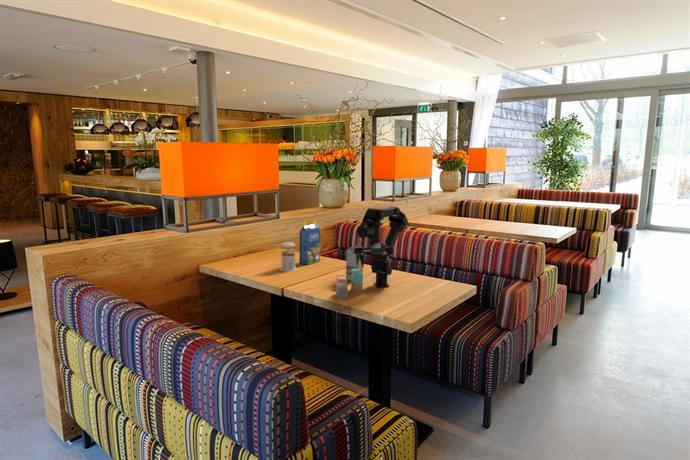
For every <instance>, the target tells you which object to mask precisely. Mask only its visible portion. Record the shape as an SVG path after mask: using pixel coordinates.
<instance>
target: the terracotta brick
mask: <svg viewBox="0 0 690 460" xmlns="http://www.w3.org/2000/svg"><path fill="white" fill-rule="evenodd" d="M335 277H336V278H335V279H336V281H335V282H336V284H340V283H345V284H346V286H347V287H348V285H347V284H348V280H347V278H346V274H337V275H336V276H335Z"/></svg>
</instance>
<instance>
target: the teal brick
mask: <svg viewBox="0 0 690 460" xmlns="http://www.w3.org/2000/svg"><path fill="white" fill-rule="evenodd" d="M363 278H364V272H362V271H361V270H360V269H352V281H353V283H354V284H357V283H363V282H364V281H363V280H364V279H363Z"/></svg>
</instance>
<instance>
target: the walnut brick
mask: <svg viewBox="0 0 690 460" xmlns="http://www.w3.org/2000/svg"><path fill="white" fill-rule="evenodd" d="M350 281H351V284H350V285H351V286H350V287H351V288H350V289H351V291H352V293H353V295H355V294H356V295H357V294H358V295H359V294H363V283H357V284H354V283H353V281H352V279H351V280H350Z"/></svg>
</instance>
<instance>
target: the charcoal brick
mask: <svg viewBox="0 0 690 460" xmlns="http://www.w3.org/2000/svg"><path fill="white" fill-rule="evenodd" d="M335 286H336V288H335V289H336V290H335V291H336V296H337V298H338V299H341V300H342V299H348V292H349V291H348V285H347V286H346V284H345V283H340V284H336V285H335Z"/></svg>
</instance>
